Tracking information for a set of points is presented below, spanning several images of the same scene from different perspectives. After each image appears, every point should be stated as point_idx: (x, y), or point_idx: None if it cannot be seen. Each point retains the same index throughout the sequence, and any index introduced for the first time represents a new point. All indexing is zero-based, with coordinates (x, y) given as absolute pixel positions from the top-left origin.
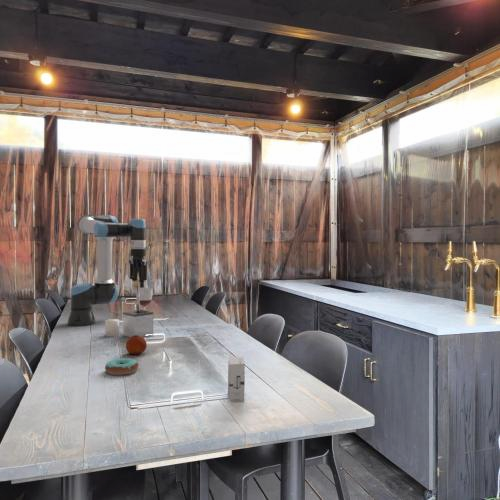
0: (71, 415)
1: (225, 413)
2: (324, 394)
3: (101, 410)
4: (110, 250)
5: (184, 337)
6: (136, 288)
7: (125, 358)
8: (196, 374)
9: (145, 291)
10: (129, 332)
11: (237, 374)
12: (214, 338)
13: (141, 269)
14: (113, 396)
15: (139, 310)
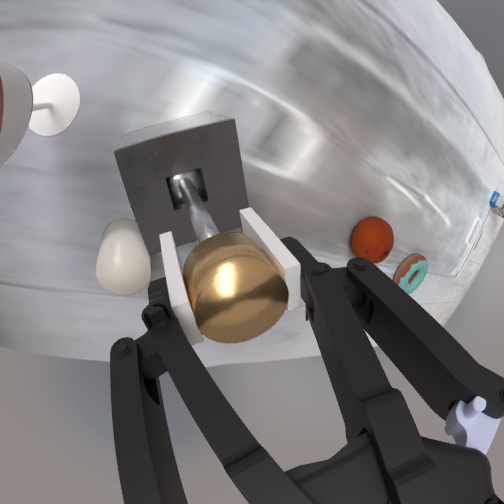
0: (433, 311)
1: (493, 223)
2: None
3: (443, 294)
4: None
5: (308, 46)
6: (180, 265)
7: (412, 273)
8: (464, 197)
9: (7, 123)
10: None
11: None
12: (367, 4)
13: (409, 379)
14: (437, 285)
15: (194, 187)
